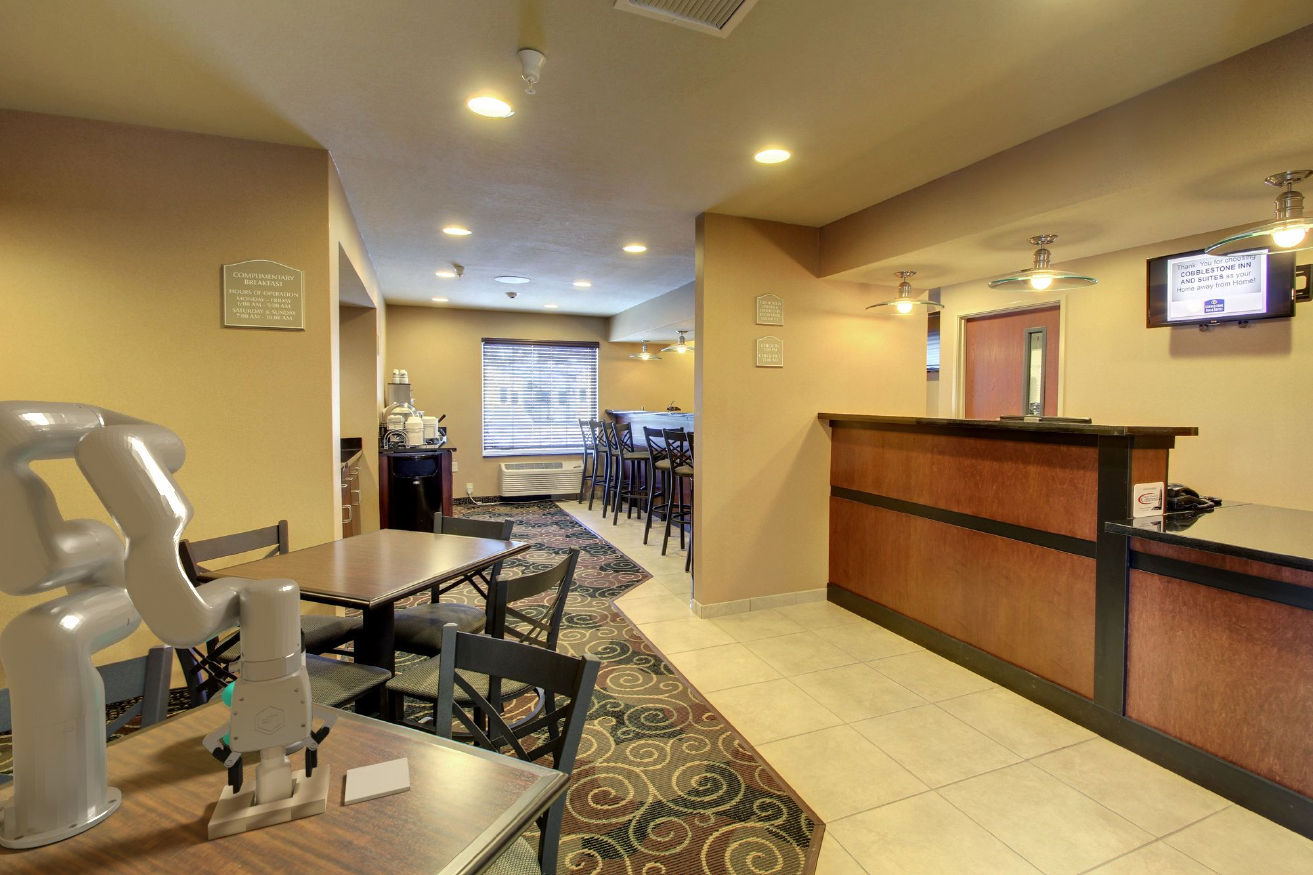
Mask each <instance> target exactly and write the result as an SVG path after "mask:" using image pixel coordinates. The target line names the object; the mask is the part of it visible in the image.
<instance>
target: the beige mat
mask: <svg viewBox="0 0 1313 875" xmlns="http://www.w3.org/2000/svg"><path fill="white" fill-rule="evenodd" d="M408 791H411V782H410V769H409V760H408V757H403V758H397V759H393V760H388V761H383V762H378V763H374V764H370V765H365V766H360V767H356V768H351V769H347V770H346V782H345V793H344V794H345V795H344V806H348V805H353V804H357V803H361V802H365V801H369V800H374V799H379V798H382V797H387V796H391V795H395V794H399V793H403V792H408Z"/></svg>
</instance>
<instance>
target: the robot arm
mask: <svg viewBox="0 0 1313 875" xmlns="http://www.w3.org/2000/svg"><path fill="white" fill-rule="evenodd" d="M186 455H187V452H186V447H185V445H184V442H183V440H182V439H181V438H180V436H179V435H178V434H177V433H176V432H174V431H173V430H171V429H170V428H168V427H166V426H164V425H162V424H159V423H155V422H151V421H148V420H145V419H143V418H137V417H134V416H131V415H127V414H125V413H121V412H117V411H114V410H110V409H108V408H104V407H100V406H99V405H98V406H97V405H94V404H90V403H89V404H87V403H81V402H67V401H65V402H64V401H63V402H62V401H44V400H28V399H27V400H23V399H22V400H21V399H20V400H19V399H17V400H16V399H15V400H0V592H2V593H4V594H5V595H8V596H13V597H27V596H32V595H37V594H38V595H39V594H43V593H46V592H50V591H54V590H56V589H61V588H63V587H64V589H65V590H66V593H67V594H65V595H61V596H59V597H56V598H53V599H51V600H48V601H45V602H42V603H38V604H37V605H34V606H31V607H29V608H27V609H26V610H25V609H24V611H22V612H21V613H19V614H17V615H16V616H15V617H13V618H12V619H11V620H10V621H8V623H7V624H6V625H5V626H4V628H3V629H2V632H1V633H0V660H1V664H2V667H3V671H4V673H5V676H6V680H7V685H8V691H9V699H10V717H11V718H10V720H11V721H10V722H11V723H10V724H11V741H12V748H11V749H12V778H13V780H12V781H13V782H12V783H13V795H11V796H10V797H9V798H8V799H5V800H0V823H1V824H2V825H1V827H0V844H1V845H2V846H1V845H0V846H1V847H4V848H7V849H15V850H16V849H28V848H35V847H37V848H38V847H41V846H44V845H45V846H46V845H49V844H53V843H57V842H59V841H62V840H66V839H68V838H71V837H73V836H76V835H78V834H81V833H83V832H85V831H87V830H88V829H90V828H91V829H92V827H94V826H96V825H98V824H99V823H101V822H103V821H104V820H106V819H107V818H108V817H110V816H111V815H112V814H113V813H114V812H116V811H117V809H118V808H120V805H121V804H122V792H121V790H120V789H119V788H118V787H115V786H111V785H108V770H107V769H108V766H107V732H106V731H107V730H106V728H107V727H106V726H107V723H106V720H107V719H106V693H105V684H104V680H103V678H102V676H101V674H100V672H99V670H97V668H96V667H95V665H94V663H93V660H92V656H93V655H95V654H97V653H99V652H101V651H103V650H105V649H107V648H109V647H111V646H114V645H115V644H118V643H120V642H122V641H123V640H126V639H127V638H129V637H130V636H132V635H133V634H134V633H135V632H136V631H137V630H138V628H139V627H140V626H141V624H142V621H143V622H144V623H145V625H146V626H147V628H148V629H149V630H150V632H151V633H152V634H153V635H154V636H155V637H156V638H157V639H158V640H159V641H161V642H162V643H164V644H165V645H167V646H169V647H172V648H174V649H182V650H183V649H191V648H192V649H193V648H195V647H200V646H201V645H204V644H205V643H207V642H209V641H210V640H213V639H215V638H216V637H218V636H220V635H222V634H223V633H225V632H227V631H230V630H231V629H232V630H233V629H234V628H236V627H239V640H240V647H239V648H240V658H239V659H238V660H236V661H233V662H229V665H228V673H234V672H235V673H238V675H239V677H237V679H235V680H234V681H235V683H234V687H233V693H232V699H231V707H230V709H229V710H230V712H229V720H227V721H226V722H224V723H222V724H221V725H220V726H218V727H217V728H215V729H214V730H212V731H211V732H210V733H208V734H207V735H205V736H204V738H203V740H202V745H203V746H204V747H205V749H207V750H208V752H210V753H211V756H212V757H213V758H214V759H216V760H218V761H220V762H221V763H223V764H224V765H223V766H224V767H226V768H227V785H228V786H232V785H233V794H236V793H238V792H239V791H240V789H241V786H242V783H243V782H244V768H243V767H244V764H243V763H244V762H243V761H244V760H243V759H244V758H243V757H242V754H243V753H250V752H256V751H260V750H262V749H267V748H272V747H277V746H282V745H287V744H292V743H296V742H300V741H302V742H303V743H304V744H305V745H304V746H305V752H304V760H305V761H304V764H305V765H304V769H305V774H306V777H307V778H309V777H311V775H312V770H313V768H316V767H317V766H318V763H319V762H318V748H319V745H320V744H321V743H322V742H323V741H324V740H325V739H326V737H327V736H328V735H329V734H330V732H331V730H332V729H333V728H334V726H335V724H336V722H337V720H338V719H339V718H338V717H339V713H338V711H335V710H332V709H329V708H326V707H324V706H320V705H318V704H315V703H313V699H312V698H313V696H312V688H311V681H310V677H309V672H308V670H307V665H306V666H304V665H301V628H302V626H301V589H300V585H299V584H298V582H297V581H296V580H294V579H292V578H287V577H286V578H285V577H276V578H273V577H272V578H265V579H254V578H246V577H236V576H225V577H220V578H217V579H214V580H212V581H209V582H207V583H204V584H201V585H198V586H196V587H195V586H194V585H193V583H192V582H191V580H190V579H189V577H188V576H187V574H186V572H185V570H184V568H183V566H182V563H181V559H180V553H179V550H180V549H179V546H180V541H181V537H182V535H183V533H184V531H185V530H186V529H187V526H188V525H189V523H190V522H191V521H192V519H193V518H194V515H195V509H194V506H193V505H192V503H191V502H190V500H189V499H188V498H187V496H186V495H185V493H184V491H183V490H182V488H181V487H180V485H179V484H178V482H177V481H176V479H175V477H174V476H173V474H175V473H177V472H178V471H179V470H180V469H181V468H182V467H183V465H184V463H185V460H186ZM64 459H65V460H67V459H74V460H75V463H76V465H77V467H78V468H79V471H80V472H81V474H82V475H83V477H84V478H85V480H86V481H87V483H88V484H89V486H90V487H91V489H92V490H93V492H94V493H95V494H94V495H96V497H97V498H98V499H99V501H100V502H101V504H102V505H103V507H104V508H105V510H106V511H107V513H108V514H109V516H110V517H111V519H112V521H113V522H114V524H115V525H116V527H117V528H118V530H119V531H120V533H121V535H122V537H123V538H124V540H125V544H124V541H123V540H122V538H121V536H120V535H119V534H118V533H117V531H116V530H115V529H114V528H113V527H111V526H110V525H108V524H107V523H106V522H103V521H100V520H98V519H93V518H74V519H73V518H71V519H66V520H65V519H64V517H63V516H62V514H61V511H60V509H59V507H58V504H57V500H56V496H55V494H54V492H53V491H52V489H51V487H50V486H49V485H48V483H47V482H46V481H45V480H44V479H43V478H42V477H41V476H40V475H38V473H36V472H35V471H34V470H32V468H31V467H30V466H29V465H30V463H31V462H34V461H46V460H47V461H51V460H52V461H53V460H64ZM314 718H317V719H320V720H322V721H324V723H323V724H322V726H321V727H320V728H319V729H318V730H317V731H315V730H314V729H313V727H312V726H313V720H314ZM227 733H229V745H230V746H229V745H227V746H226V745H225V744H223V743H221V740H220V739H221V738H223V736H224V735H226V734H227ZM228 746H229V747H228Z"/></svg>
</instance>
